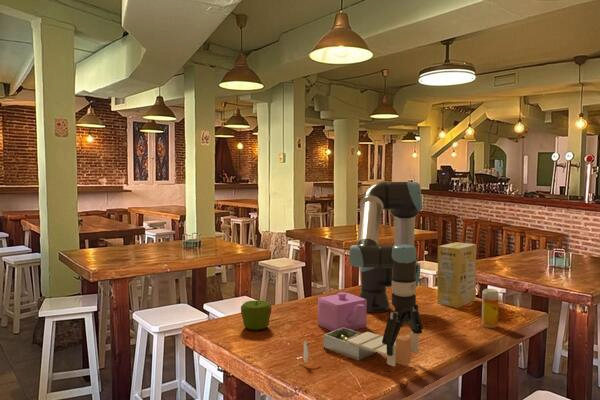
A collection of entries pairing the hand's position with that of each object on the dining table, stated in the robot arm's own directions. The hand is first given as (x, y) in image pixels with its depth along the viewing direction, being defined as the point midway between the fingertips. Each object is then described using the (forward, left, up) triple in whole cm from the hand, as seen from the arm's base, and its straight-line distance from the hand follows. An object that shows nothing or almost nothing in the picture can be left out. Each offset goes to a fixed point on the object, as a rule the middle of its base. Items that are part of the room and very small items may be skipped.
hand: (403, 358), depth 143 cm
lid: (-8, 0, -1) cm, 9 cm away
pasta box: (-23, +84, -4) cm, 87 cm away
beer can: (+3, +60, -4) cm, 60 cm away
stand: (-24, -19, -4) cm, 31 cm away
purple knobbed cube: (-39, +17, -4) cm, 43 cm away
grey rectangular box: (-22, 0, -3) cm, 22 cm away
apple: (-64, -9, -4) cm, 64 cm away
